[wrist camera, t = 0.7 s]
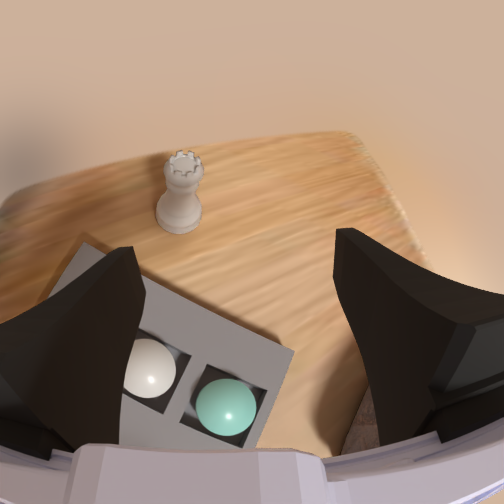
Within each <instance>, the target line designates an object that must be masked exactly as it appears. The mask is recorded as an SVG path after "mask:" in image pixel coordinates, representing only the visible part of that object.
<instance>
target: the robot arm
mask: <svg viewBox="0 0 504 504" xmlns="http://www.w3.org/2000/svg"><path fill="white" fill-rule="evenodd" d="M333 280H334V283H335V287H336V291H337V295H338V298H339V301H340V303H341V306H342V308H343V311H344V313H345V315H346V318H347V320H348V323H349V325H350V327H351V330H352V332H353V334H354V337H355V339H356V342H357V344H358V347H359V349H360V352H361V355H362V358H363V362H364V366H365V370H366V373H367V377H368V382H369V386H370V391H371V395H372V400H373V405H374V410H375V416H376V422H377V428H378V436H379V443H380V447H378V448H374V449H369V450H365V451H360V452H356V453H351V454H346V455H340V456H335V457H329V458H323V459H320V457H318V456H316V455H314V454H312V453H307V452H303V451H299V450H295V449H291V448H251V449H230V450H181V449H160V448H145V447H134V446H125V445H119V430H120V413H121V402H122V393H123V386H124V380H125V373H126V369H127V365H128V361H129V358H130V354H131V351H132V348H133V344H134V341H135V338H136V335H137V332H138V328H139V325H140V322H141V318H142V315H143V310H144V304H145V298H146V289H145V286H144V283H143V279H142V276H141V273H140V270H139V266H138V263H137V259H136V256H135V252H134V249H133V246H130V247H120V248H116V249H115V250H113V251H111V252H110V253H108V254H107V255H106V256H104V257H103V258H102V259H100V260H99V261H98V262H96V263H95V264H94V265H93V266H91V267H90V268H89V269H87V270H86V271H85V272H84V273H82V274H81V275H80V276H79V277H77V278H76V279H74V280H73V281H72V282H70V283H69V284H68V285H66V286H65V287H64V288H63V289H61V290H60V291H58V292H57V293H55V294H54V295H53V296H51V297H50V298H48V299H46V300H45V301H43V302H42V303H40V304H38V305H37V306H35V307H33V308H31V309H30V310H28V311H26V312H24V313H22V314H20V315H19V316H17V317H15V318H13V319H11V320H9V321H6V322H4V323H2V324H0V504H478V503H480V502H481V501H483V500H485V499H487V498H489V497H491V496H492V495H494V494H496V493H497V492H499V491H501V490H503V489H504V295H503V294H498V293H493V292H489V291H485V290H481V289H477V288H474V287H471V286H467V285H464V284H461V283H458V282H455V281H453V280H450V279H447V278H445V277H442V276H440V275H438V274H435V273H433V272H431V271H429V270H427V269H424V268H422V267H420V266H418V265H416V264H414V263H413V262H411V261H409V260H407V259H405V258H403V257H402V256H400V255H398V254H396V253H395V252H393V251H391V250H390V249H388V248H386V247H385V246H383V245H382V244H380V243H378V242H377V241H375V240H373V239H372V238H370V237H369V236H367V235H365V234H364V233H362V232H360V231H358V230H357V229H354V228H341V229H336V240H335V255H334V269H333Z"/></svg>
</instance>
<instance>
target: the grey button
mask: <svg viewBox="0 0 504 504" xmlns="http://www.w3.org/2000/svg"><path fill="white" fill-rule="evenodd" d="M175 374H176V366H175V361H174V359H173V356H172V355H171V353H170V352H169V350H168V349H167V348H166V347H165V346H164V345H162V344H161V343H159V342H157V341H154V340H151V339H138V340H135V341H134V344H133V348H132V351H131V354H130V358H129V361H128V365H127V369H126V373H125V380H124V387H125V388H126V389H127V390H128V391H129V392H130V393H132V394H134V395H136V396H139V397H143V398H152V397H157V396H159V395H161V394H163V393H165V392H166V391H167V390H168V389H169V388H170V387H171V385H172V383H173V381H174V378H175Z"/></svg>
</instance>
